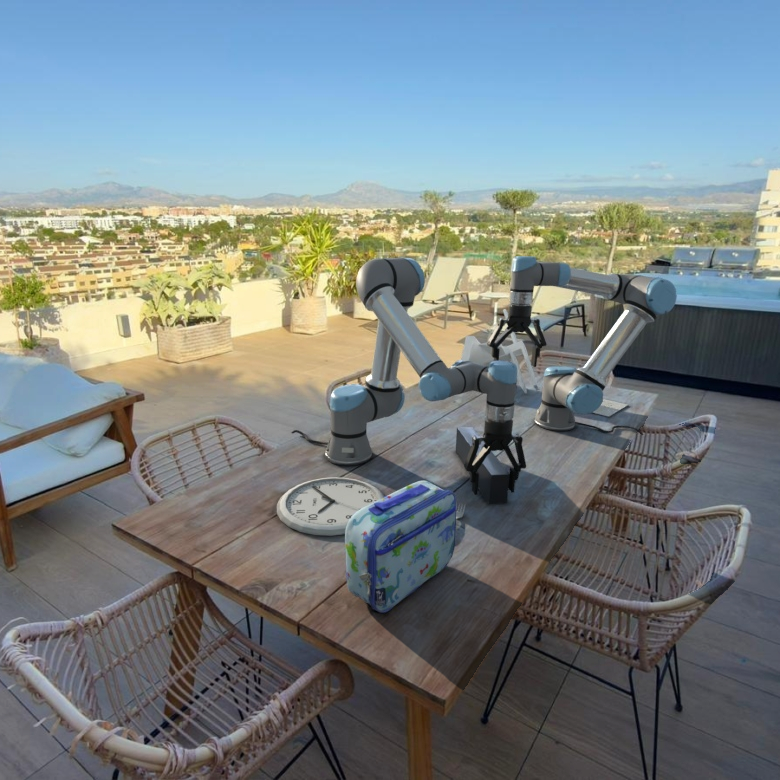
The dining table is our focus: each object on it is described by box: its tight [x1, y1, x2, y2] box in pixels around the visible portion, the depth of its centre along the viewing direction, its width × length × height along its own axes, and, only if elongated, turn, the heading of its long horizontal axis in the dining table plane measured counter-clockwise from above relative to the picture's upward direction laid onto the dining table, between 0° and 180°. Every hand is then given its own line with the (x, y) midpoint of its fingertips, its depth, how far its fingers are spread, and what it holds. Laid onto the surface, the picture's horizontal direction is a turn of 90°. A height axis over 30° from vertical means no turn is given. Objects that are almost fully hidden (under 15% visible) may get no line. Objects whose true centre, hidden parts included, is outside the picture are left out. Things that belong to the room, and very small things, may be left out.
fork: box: [456, 501, 466, 520], centre depth 134 cm, size 3×16×2 cm, turn 160°
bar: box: [455, 426, 510, 505], centre depth 161 cm, size 36×5×9 cm, turn 8°
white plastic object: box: [460, 308, 540, 394], centre depth 253 cm, size 37×45×31 cm
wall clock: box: [276, 476, 386, 537], centre depth 142 cm, size 30×2×30 cm
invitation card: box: [591, 398, 629, 418], centre depth 226 cm, size 21×1×15 cm
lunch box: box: [344, 480, 457, 614], centre depth 109 cm, size 26×11×21 cm, turn 135°
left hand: (492, 491), depth 149 cm, fingers open, 10 cm apart
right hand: (514, 366), depth 179 cm, fingers open, 13 cm apart
